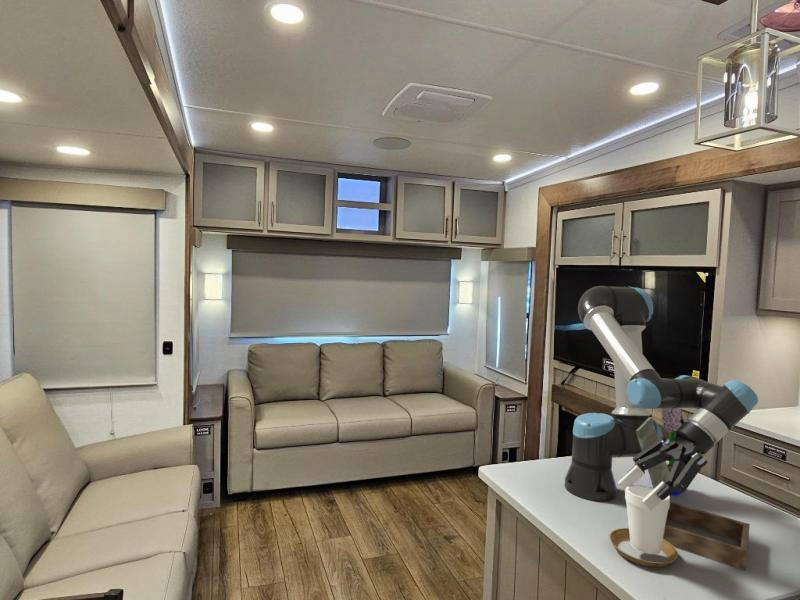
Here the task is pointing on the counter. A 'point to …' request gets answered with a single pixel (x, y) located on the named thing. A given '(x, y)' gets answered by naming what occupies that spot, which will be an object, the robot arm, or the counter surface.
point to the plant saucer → (624, 535)
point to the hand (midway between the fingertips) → (633, 496)
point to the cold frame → (696, 518)
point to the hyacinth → (671, 429)
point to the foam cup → (645, 520)
